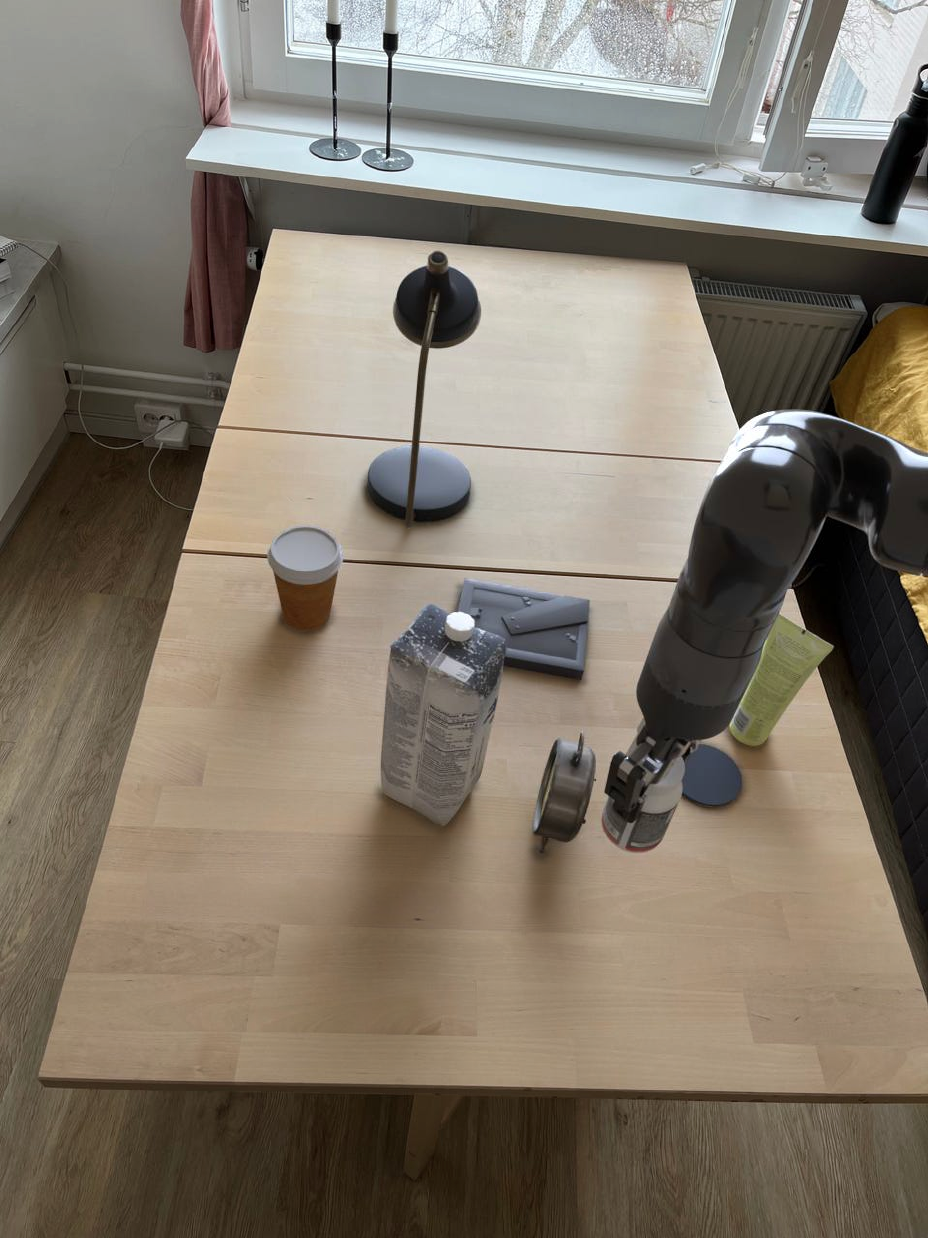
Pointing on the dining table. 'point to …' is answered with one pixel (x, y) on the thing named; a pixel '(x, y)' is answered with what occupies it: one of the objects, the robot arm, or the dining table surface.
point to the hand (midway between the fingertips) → (646, 792)
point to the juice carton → (439, 711)
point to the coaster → (711, 777)
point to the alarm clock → (564, 791)
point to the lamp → (418, 475)
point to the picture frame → (531, 626)
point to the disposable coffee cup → (305, 574)
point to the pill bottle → (647, 814)
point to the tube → (777, 679)
